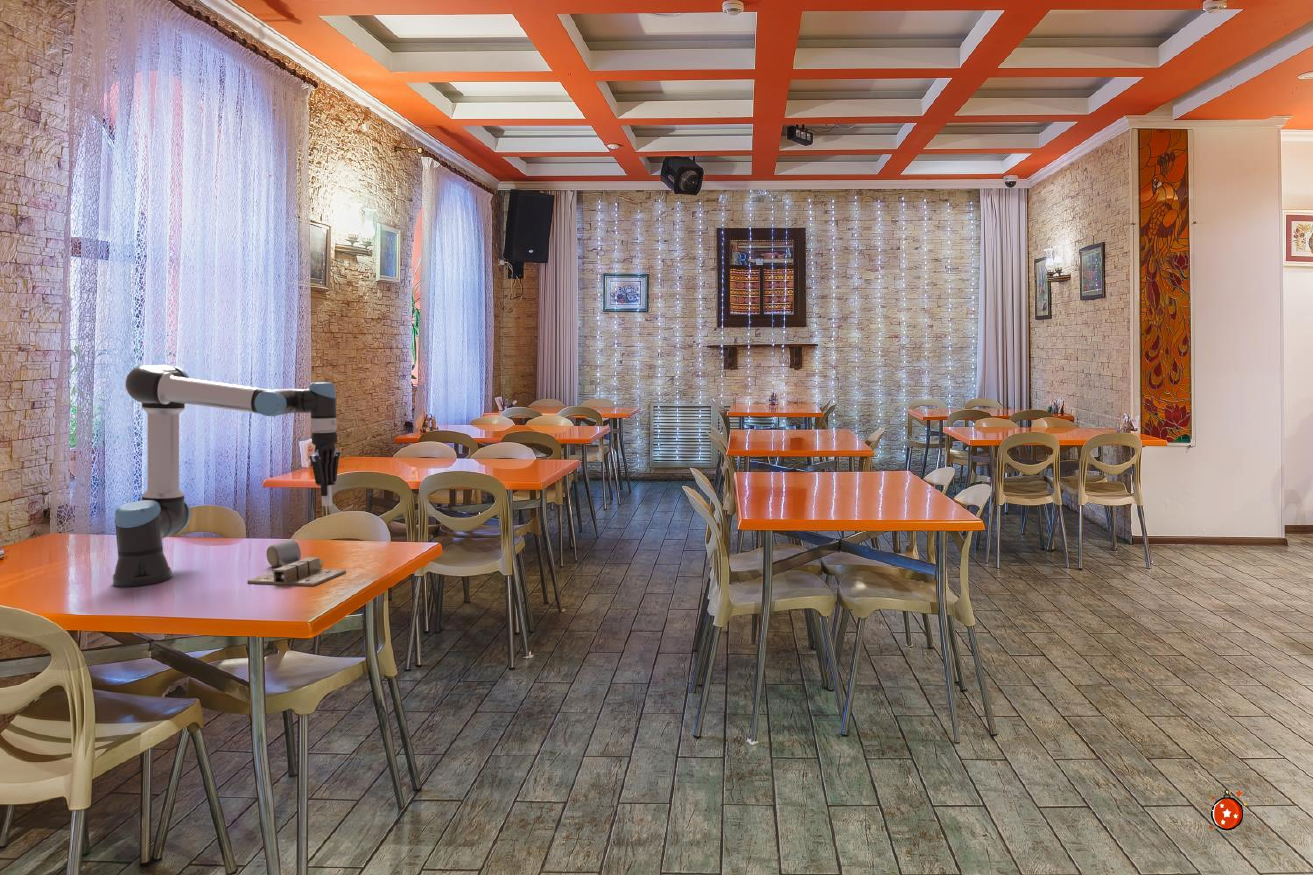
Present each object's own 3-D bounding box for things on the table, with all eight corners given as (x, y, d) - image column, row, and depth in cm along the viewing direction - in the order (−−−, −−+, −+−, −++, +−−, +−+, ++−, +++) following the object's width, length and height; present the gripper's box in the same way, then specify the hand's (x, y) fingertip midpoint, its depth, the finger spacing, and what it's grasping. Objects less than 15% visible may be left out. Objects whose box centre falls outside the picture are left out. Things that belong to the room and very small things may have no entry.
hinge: (313, 586, 245) (312, 571, 245) (247, 583, 250) (246, 568, 250) (345, 572, 261) (345, 558, 260) (283, 570, 266) (282, 556, 265)
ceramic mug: (265, 566, 272) (264, 542, 271) (289, 560, 278) (288, 537, 278) (283, 571, 266) (281, 546, 265) (307, 565, 272) (306, 542, 271)
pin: (287, 583, 248) (286, 571, 248) (277, 582, 249) (276, 571, 249) (323, 569, 265) (323, 558, 265) (314, 568, 266) (313, 558, 266)
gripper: (322, 433, 261) (325, 509, 263) (346, 430, 274) (349, 502, 276) (300, 433, 263) (303, 508, 265) (326, 429, 275) (329, 502, 277)
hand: (327, 505), depth 270 cm, fingers closed
